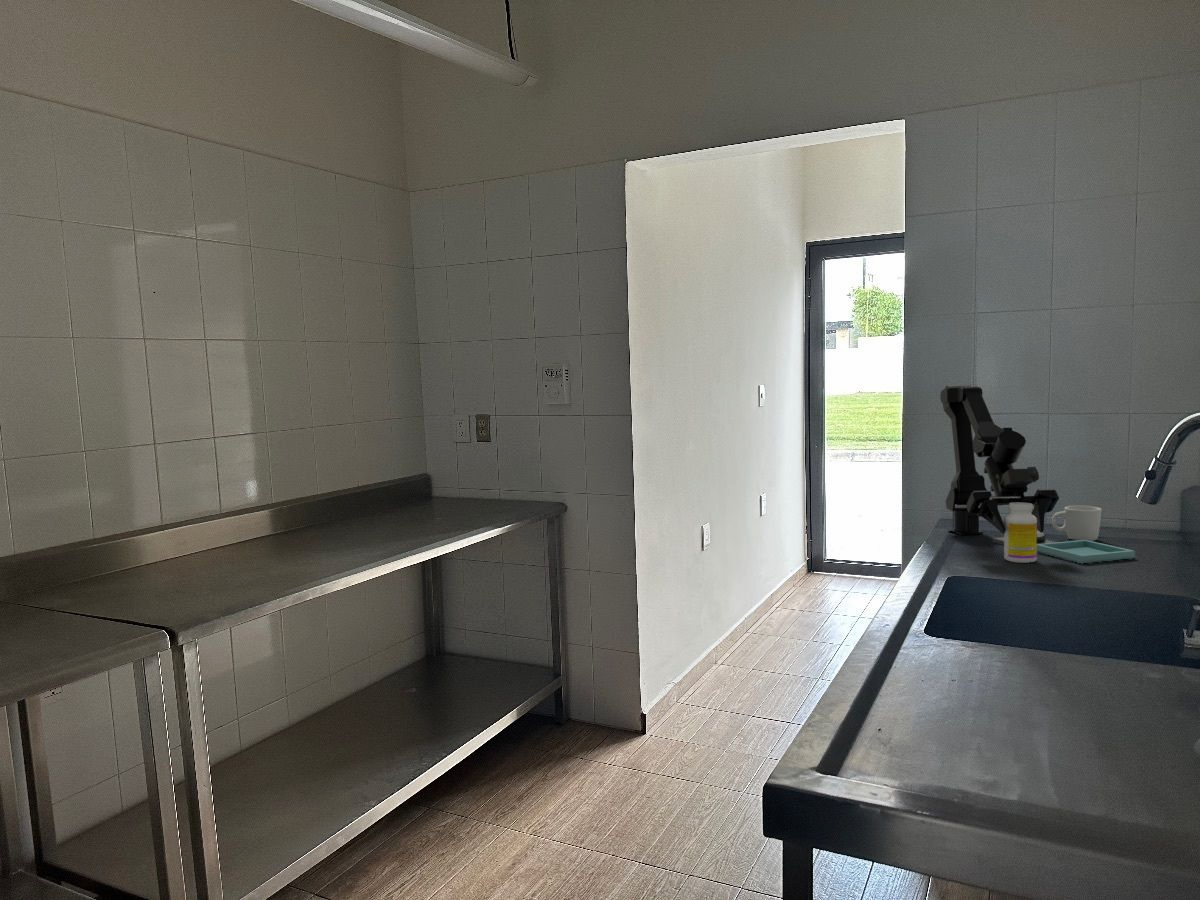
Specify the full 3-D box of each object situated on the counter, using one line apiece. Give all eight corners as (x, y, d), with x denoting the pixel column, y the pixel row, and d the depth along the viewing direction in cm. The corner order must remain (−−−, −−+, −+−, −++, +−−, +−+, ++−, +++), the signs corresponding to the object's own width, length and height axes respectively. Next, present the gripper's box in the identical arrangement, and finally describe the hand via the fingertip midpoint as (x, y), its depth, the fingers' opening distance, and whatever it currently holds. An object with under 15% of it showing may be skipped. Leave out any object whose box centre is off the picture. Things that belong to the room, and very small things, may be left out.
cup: (1055, 542, 209) (1055, 510, 208) (1048, 536, 216) (1048, 505, 215) (1105, 543, 205) (1105, 510, 205) (1096, 537, 213) (1096, 505, 212)
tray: (1034, 551, 198) (1034, 544, 198) (1084, 547, 202) (1084, 539, 202) (1081, 564, 185) (1082, 556, 185) (1134, 558, 188) (1135, 550, 188)
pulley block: (992, 542, 211) (992, 527, 211) (1027, 539, 213) (1027, 524, 213) (1027, 551, 199) (1028, 535, 199) (1063, 548, 202) (1064, 532, 201)
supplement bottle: (1042, 563, 187) (1043, 505, 186) (1012, 564, 187) (1012, 506, 186) (1028, 556, 194) (1028, 501, 193) (998, 557, 194) (999, 501, 193)
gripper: (971, 456, 193) (990, 511, 183) (1055, 453, 192) (1079, 509, 182) (958, 485, 202) (976, 540, 192) (1039, 483, 200) (1061, 539, 190)
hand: (1023, 532), depth 189 cm, fingers open, 8 cm apart
